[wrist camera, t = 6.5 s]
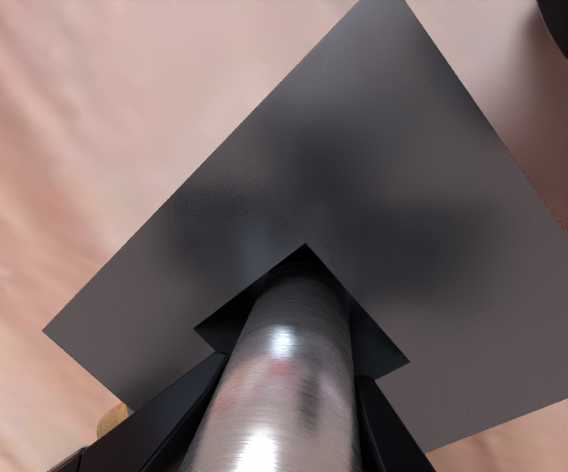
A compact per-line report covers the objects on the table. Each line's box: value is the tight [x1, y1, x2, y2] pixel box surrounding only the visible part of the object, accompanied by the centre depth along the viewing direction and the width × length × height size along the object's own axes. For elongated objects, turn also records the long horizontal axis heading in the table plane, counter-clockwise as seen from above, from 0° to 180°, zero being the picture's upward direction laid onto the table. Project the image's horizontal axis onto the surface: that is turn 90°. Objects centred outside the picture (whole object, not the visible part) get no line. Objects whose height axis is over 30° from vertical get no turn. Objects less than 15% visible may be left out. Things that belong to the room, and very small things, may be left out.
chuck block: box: [42, 0, 568, 453], centre depth 12 cm, size 20×11×5 cm, turn 132°
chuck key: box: [178, 262, 363, 472], centre depth 7 cm, size 6×3×9 cm, turn 176°
